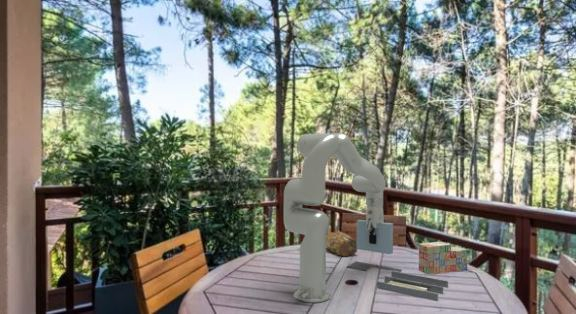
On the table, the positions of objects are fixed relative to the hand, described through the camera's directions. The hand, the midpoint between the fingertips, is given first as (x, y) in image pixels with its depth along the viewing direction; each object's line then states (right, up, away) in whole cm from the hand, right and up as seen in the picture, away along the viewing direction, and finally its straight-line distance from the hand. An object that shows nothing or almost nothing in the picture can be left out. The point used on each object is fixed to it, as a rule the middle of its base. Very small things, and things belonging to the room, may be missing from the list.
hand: (374, 242), depth 172 cm
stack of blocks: (+31, -13, -1) cm, 33 cm away
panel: (0, -4, 0) cm, 4 cm away
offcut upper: (+6, -12, -28) cm, 31 cm away
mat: (0, -12, 0) cm, 12 cm away
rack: (+10, -12, -25) cm, 29 cm away
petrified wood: (-11, -12, +28) cm, 33 cm away
